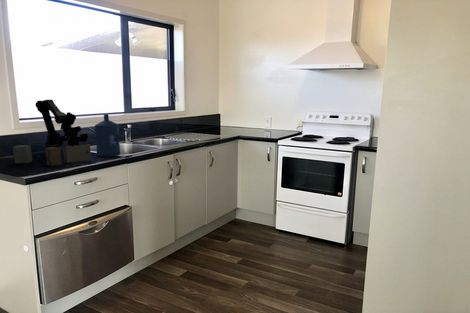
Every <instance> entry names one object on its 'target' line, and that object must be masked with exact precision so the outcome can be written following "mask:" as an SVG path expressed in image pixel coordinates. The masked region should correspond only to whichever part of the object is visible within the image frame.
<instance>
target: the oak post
mask: <svg viewBox="0 0 470 313" xmlns="http://www.w3.org/2000/svg"><path fill="white" fill-rule="evenodd" d="M61 155H62V153H61V148H60V147H58V148H57V147H51V148H48V147H46V148H45V156H46V157H45V158H46V164H47V165H48V166H52V167H54V166H61V165H62V156H61Z"/></svg>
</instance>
